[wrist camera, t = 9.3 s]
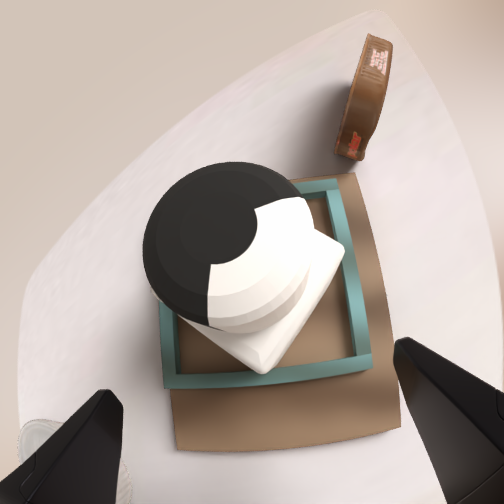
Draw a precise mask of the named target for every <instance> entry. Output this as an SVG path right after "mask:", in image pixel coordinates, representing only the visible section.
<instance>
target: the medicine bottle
mask: <svg viewBox="0 0 504 504" xmlns="http://www.w3.org/2000/svg"><path fill="white" fill-rule="evenodd" d="M344 253H345V250H344V247H343V246H342V245H341V244H340V243H338V242H336V241H335V240H333V239H331V238H330V237H328V236H326V235H324V234H323V233H321V232H319V231H317V230H316V229H314V224H313V219H312V216H311V213H310V209H309V207H308V205H307V203H306V201H305V199H304V198H303V196H302V195H301V193H300V192H299V191H298V189H297V188H296V187H295V186H294V185H293V184H292V183H291V182H290V181H289V180H287V179H286V178H285V177H283V176H282V175H280V174H279V173H277V172H275V171H273V170H271V169H269V168H266V167H264V166H261V165H257V164H253V163H246V162H225V163H217V164H213V165H209V166H206V167H203V168H200V169H198V170H196V171H194V172H192V173H190V174H188V175H186V176H185V177H183V178H182V179H180V180H179V181H178V182H177V183H175V184H174V185H173V186H172V187H171V188H170V189H169V190H168V191H167V192H166V193H165V194H164V195H163V197H162V198H161V199H160V201H159V202H158V203H157V205H156V207H155V208H154V210H153V212H152V214H151V216H150V218H149V221H148V223H147V226H146V230H145V233H144V239H143V263H144V268H145V272H146V275H147V278H148V281H149V283H150V285H151V292H152V293H153V295H154V296H155V297H157V298H158V299H159V300H160V301H161V302H163V303H164V304H165V305H166V306H167V307H168V308H169V309H171V310H172V311H173V312H174V313H176V314H178V315H179V316H180V317H181V318H183V319H184V320H185V321H186V322H188V323H189V324H190V325H192V326H193V327H194V328H196V329H197V330H198V331H199V332H201V333H202V334H203V335H205V336H206V337H207V338H209V339H210V340H211V341H213V342H214V343H216V344H217V345H218V346H220V347H221V348H222V349H224V350H225V351H227V352H228V353H229V354H231V355H232V356H234V357H235V358H236V359H238V360H239V361H241V362H242V363H244V364H245V365H247V366H248V367H249V368H251V369H252V370H254V371H255V372H257V373H259V374H266V373H267V372H269V371H270V370H271V369H272V368H274V367H275V366H276V365H277V364H278V363H279V361H280V360H281V358H282V357H283V355H284V354H285V353H286V351H287V350H288V348H289V347H290V345H291V344H292V342H293V341H294V339H295V338H296V336H297V335H298V333H299V332H300V330H301V329H302V327H303V326H304V324H305V323H306V321H307V320H308V318H309V317H310V315H311V313H312V312H313V310H314V309H315V307H316V306H317V304H318V302H319V301H320V299H321V298H322V296H323V294H324V293H325V291H326V289H327V288H328V286H329V284H330V282H331V280H332V278H333V276H334V274H335V272H336V270H337V268H338V266H339V264H340V262H341V260H342V258H343V256H344Z"/></svg>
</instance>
